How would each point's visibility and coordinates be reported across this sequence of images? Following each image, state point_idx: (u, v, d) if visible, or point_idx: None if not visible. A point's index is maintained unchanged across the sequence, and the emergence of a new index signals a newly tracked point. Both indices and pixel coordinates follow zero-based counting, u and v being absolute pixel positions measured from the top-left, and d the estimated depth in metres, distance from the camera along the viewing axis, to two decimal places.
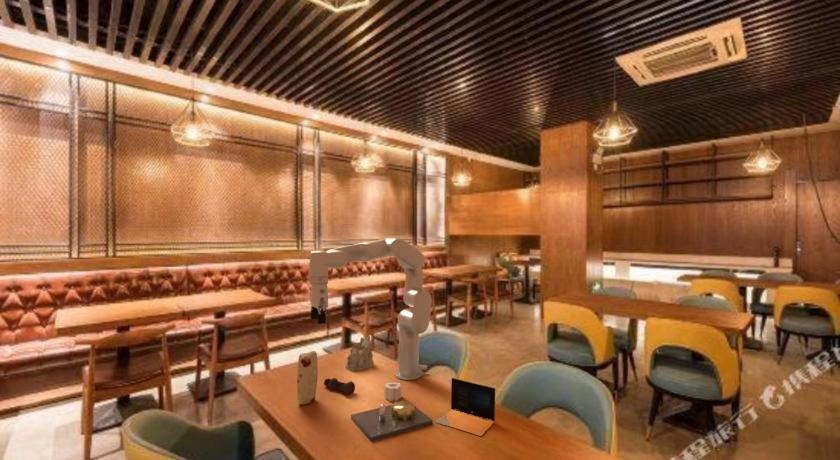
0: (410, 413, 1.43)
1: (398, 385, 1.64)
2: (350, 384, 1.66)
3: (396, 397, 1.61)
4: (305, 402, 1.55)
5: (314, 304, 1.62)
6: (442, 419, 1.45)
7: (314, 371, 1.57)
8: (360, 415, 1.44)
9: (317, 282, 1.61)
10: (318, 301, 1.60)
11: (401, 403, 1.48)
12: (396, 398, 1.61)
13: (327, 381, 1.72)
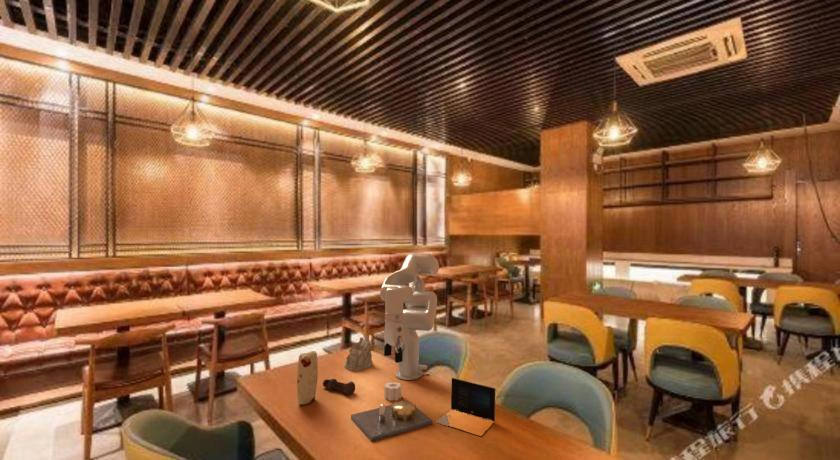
0: (410, 413, 1.43)
1: (398, 385, 1.64)
2: (351, 384, 1.66)
3: (396, 397, 1.61)
4: (305, 402, 1.55)
5: (390, 342, 1.61)
6: (442, 419, 1.45)
7: (314, 371, 1.57)
8: (360, 415, 1.44)
9: (394, 320, 1.60)
10: (396, 339, 1.59)
11: (401, 403, 1.48)
12: (396, 398, 1.61)
13: (326, 382, 1.71)
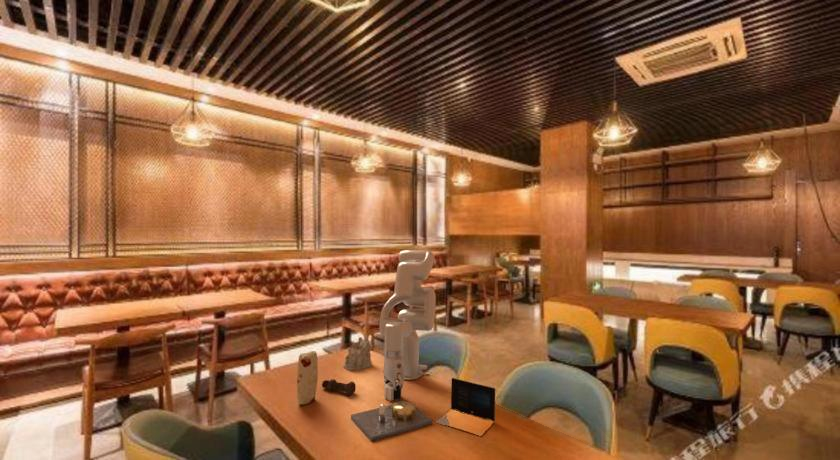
0: (410, 413, 1.43)
1: None
2: (351, 384, 1.66)
3: None
4: (305, 402, 1.55)
5: (390, 378, 1.61)
6: (442, 419, 1.45)
7: (314, 371, 1.57)
8: (360, 415, 1.44)
9: (393, 357, 1.60)
10: (395, 376, 1.59)
11: (401, 403, 1.48)
12: None
13: (325, 383, 1.70)
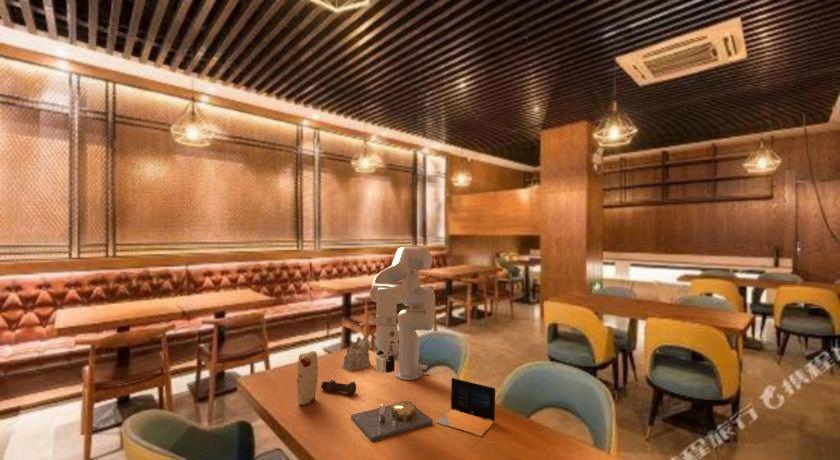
0: (410, 413, 1.43)
1: None
2: (353, 384, 1.66)
3: None
4: (305, 402, 1.55)
5: (382, 348, 1.43)
6: (442, 419, 1.45)
7: (314, 371, 1.57)
8: (360, 415, 1.44)
9: (386, 323, 1.42)
10: (388, 345, 1.41)
11: (401, 403, 1.48)
12: None
13: (325, 384, 1.69)
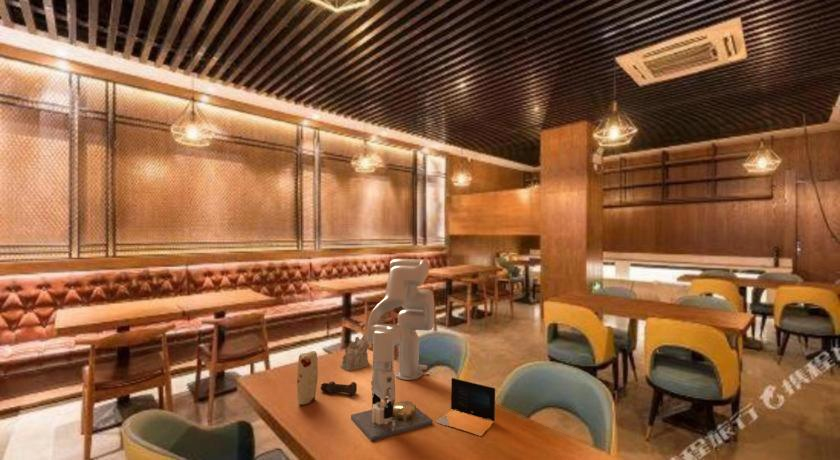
0: (410, 413, 1.43)
1: None
2: (354, 385, 1.65)
3: (386, 420, 1.39)
4: (305, 402, 1.55)
5: (379, 394, 1.39)
6: (442, 419, 1.45)
7: (314, 371, 1.57)
8: (360, 415, 1.44)
9: (383, 369, 1.38)
10: (385, 392, 1.36)
11: (401, 403, 1.48)
12: (386, 421, 1.39)
13: (325, 385, 1.68)
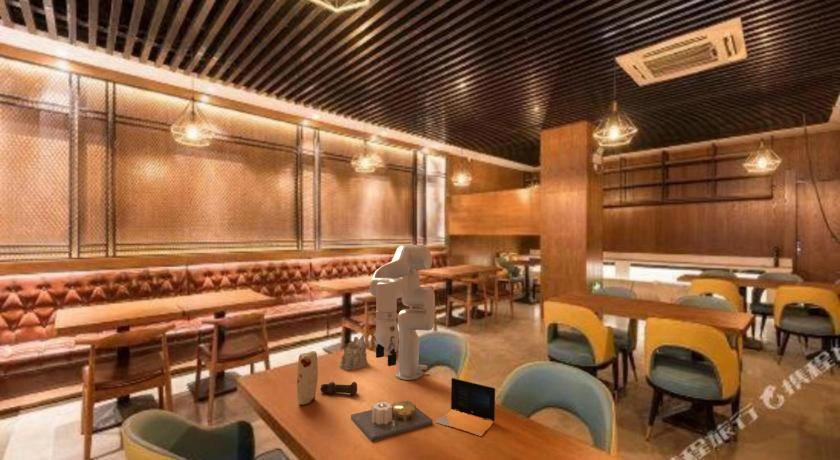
0: (410, 413, 1.43)
1: (388, 406, 1.41)
2: (355, 384, 1.65)
3: (386, 420, 1.39)
4: (305, 402, 1.55)
5: (382, 343, 1.43)
6: (442, 419, 1.45)
7: (314, 371, 1.57)
8: (360, 415, 1.44)
9: (386, 318, 1.41)
10: (388, 340, 1.40)
11: (401, 403, 1.48)
12: (386, 421, 1.39)
13: (325, 386, 1.67)
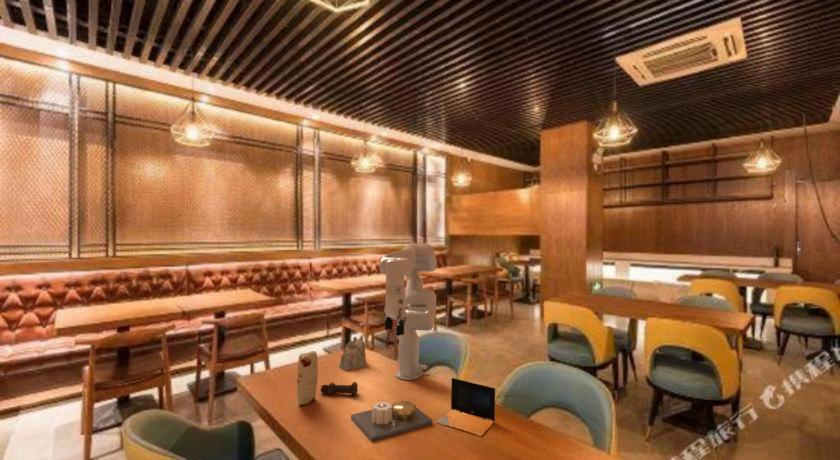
0: (410, 413, 1.43)
1: (388, 406, 1.41)
2: (355, 385, 1.65)
3: (386, 420, 1.39)
4: (305, 402, 1.55)
5: (391, 315, 1.57)
6: (442, 419, 1.45)
7: (314, 371, 1.57)
8: (360, 415, 1.44)
9: (395, 292, 1.56)
10: (397, 312, 1.55)
11: (401, 403, 1.48)
12: (386, 421, 1.39)
13: (325, 387, 1.66)
